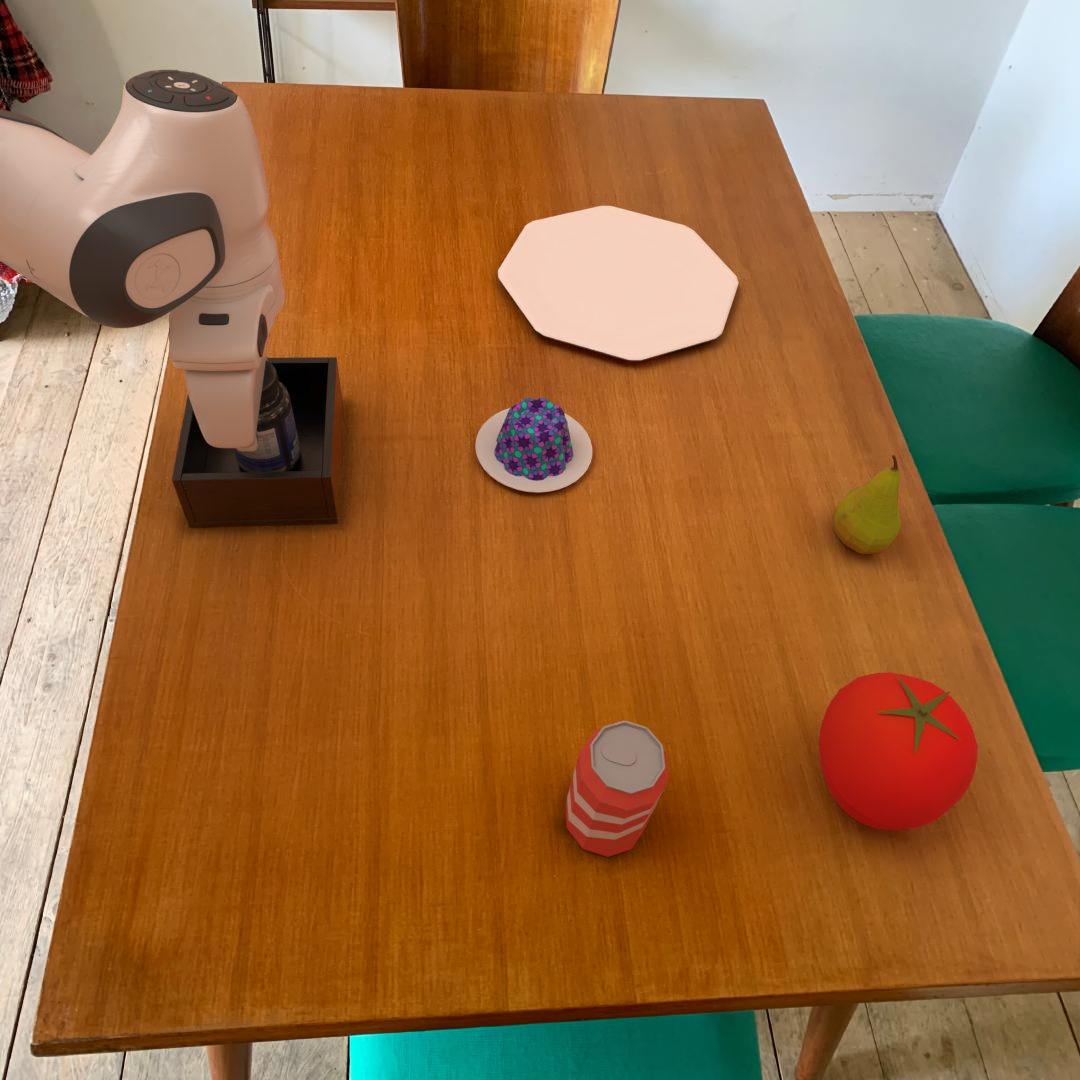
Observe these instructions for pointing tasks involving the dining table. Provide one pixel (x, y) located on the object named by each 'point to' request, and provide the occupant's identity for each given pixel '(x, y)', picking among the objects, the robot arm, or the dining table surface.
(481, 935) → the dining table surface
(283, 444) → the pill bottle
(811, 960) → the dining table surface
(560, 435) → the pudding
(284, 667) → the dining table surface
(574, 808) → the beverage can
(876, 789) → the tomato
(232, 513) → the open box
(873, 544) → the fruit
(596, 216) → the plate
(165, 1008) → the dining table surface
